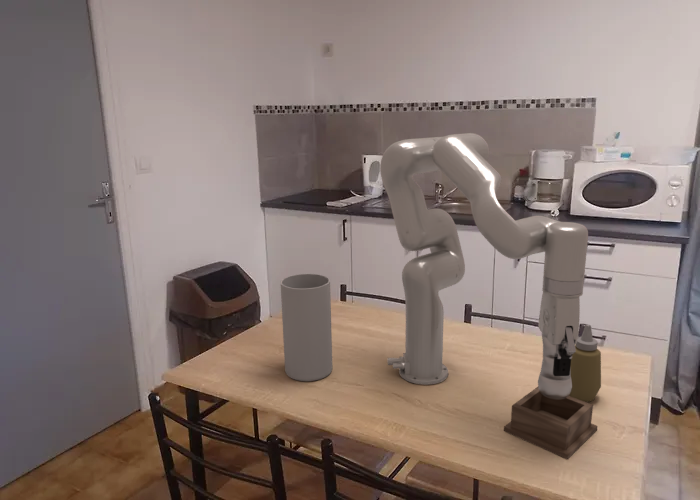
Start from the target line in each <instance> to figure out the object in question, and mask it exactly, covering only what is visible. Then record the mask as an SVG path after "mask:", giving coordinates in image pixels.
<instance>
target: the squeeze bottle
mask: <svg viewBox="0 0 700 500" xmlns="http://www.w3.org/2000/svg"><path fill="white" fill-rule="evenodd" d="M598 342H599V341H598V340H597V339H595V338H593V330H592V326H591V325H590V324H585V326H584V328H583V331H582V334H581V336H578V340H577V343H576V344H575V349H576V352H575V353H573V355H572V359H571V380H572V389H571V393H570V395H569V396H570V397H573V398H576V399H578V400H581V401H584V402H587V403H589V402H593V401H594V400H595V399H596V397H597V395H598V393H599V392H600V389H601V388H602V357H601V356H602V355H601V354H602V352H601V351H600V349H598Z"/></svg>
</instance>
